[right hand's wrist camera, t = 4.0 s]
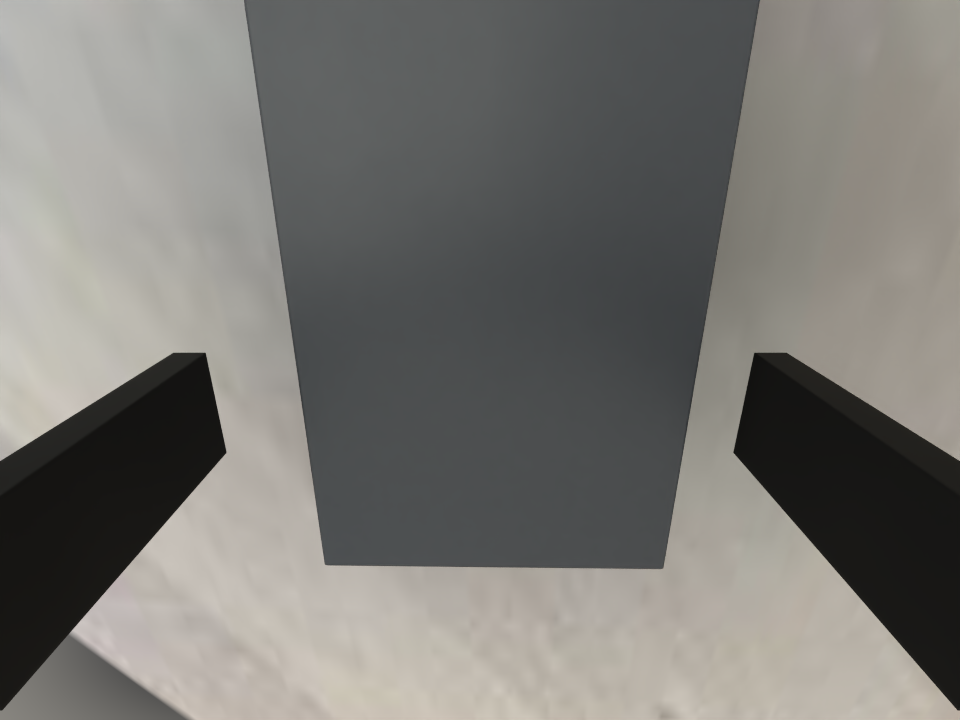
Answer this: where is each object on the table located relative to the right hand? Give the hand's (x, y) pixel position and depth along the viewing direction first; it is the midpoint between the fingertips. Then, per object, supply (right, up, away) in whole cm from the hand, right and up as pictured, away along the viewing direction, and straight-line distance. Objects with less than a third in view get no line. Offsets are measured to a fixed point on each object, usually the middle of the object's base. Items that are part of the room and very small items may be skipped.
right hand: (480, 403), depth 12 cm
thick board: (0, +29, -5) cm, 30 cm away
